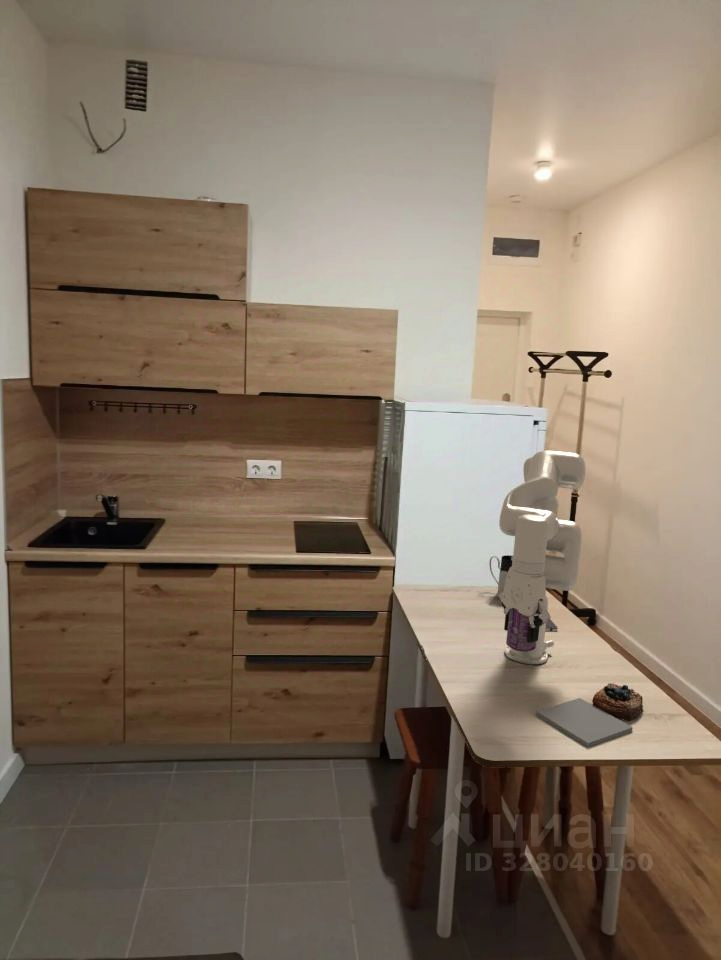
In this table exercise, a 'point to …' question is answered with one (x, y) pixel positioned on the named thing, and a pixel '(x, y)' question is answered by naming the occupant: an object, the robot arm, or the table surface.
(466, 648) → the table surface
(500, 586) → the white and black pitcher
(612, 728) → the mat
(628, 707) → the pastry
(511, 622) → the beverage can
